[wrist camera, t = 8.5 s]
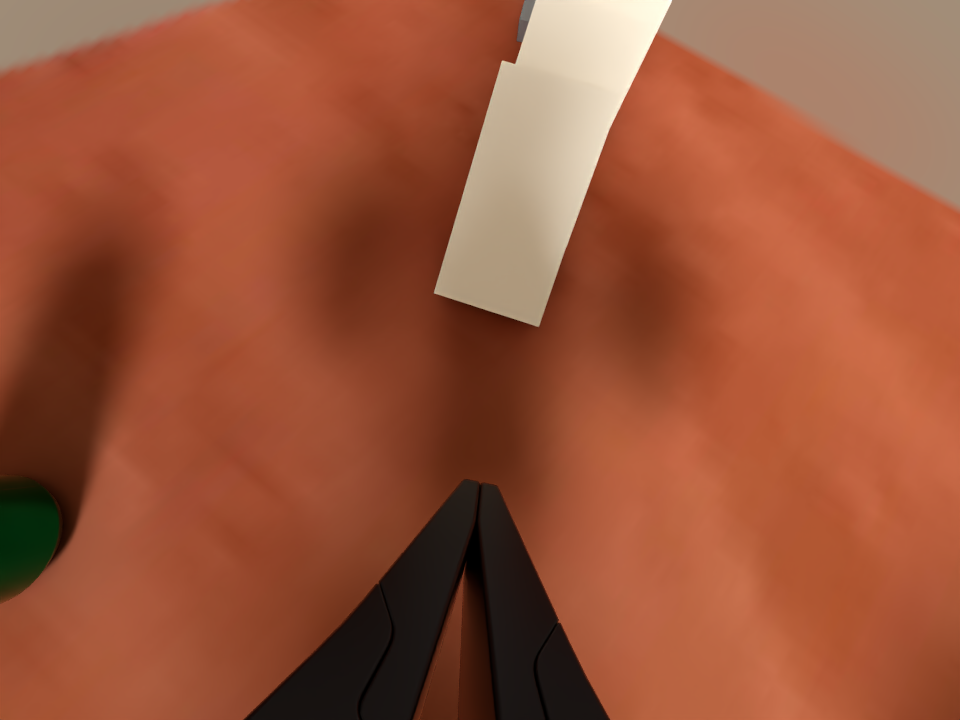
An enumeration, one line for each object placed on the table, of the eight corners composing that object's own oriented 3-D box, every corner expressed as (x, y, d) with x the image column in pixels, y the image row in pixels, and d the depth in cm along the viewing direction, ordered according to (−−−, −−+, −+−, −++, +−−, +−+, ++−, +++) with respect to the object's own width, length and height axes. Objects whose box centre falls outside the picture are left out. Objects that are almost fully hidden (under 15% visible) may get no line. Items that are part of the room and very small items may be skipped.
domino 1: (538, 327, 17) (618, 94, 15) (433, 293, 17) (502, 60, 16) (536, 325, 18) (608, 114, 17) (440, 294, 19) (503, 83, 17)
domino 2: (566, 247, 18) (648, 22, 16) (467, 214, 18) (539, -11, 17) (562, 252, 19) (636, 48, 18) (471, 222, 20) (536, 17, 18)
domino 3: (591, 166, 19) (694, -45, 17) (501, 124, 19) (595, -89, 17) (585, 177, 20) (678, -15, 19) (502, 138, 21) (588, -56, 19)
